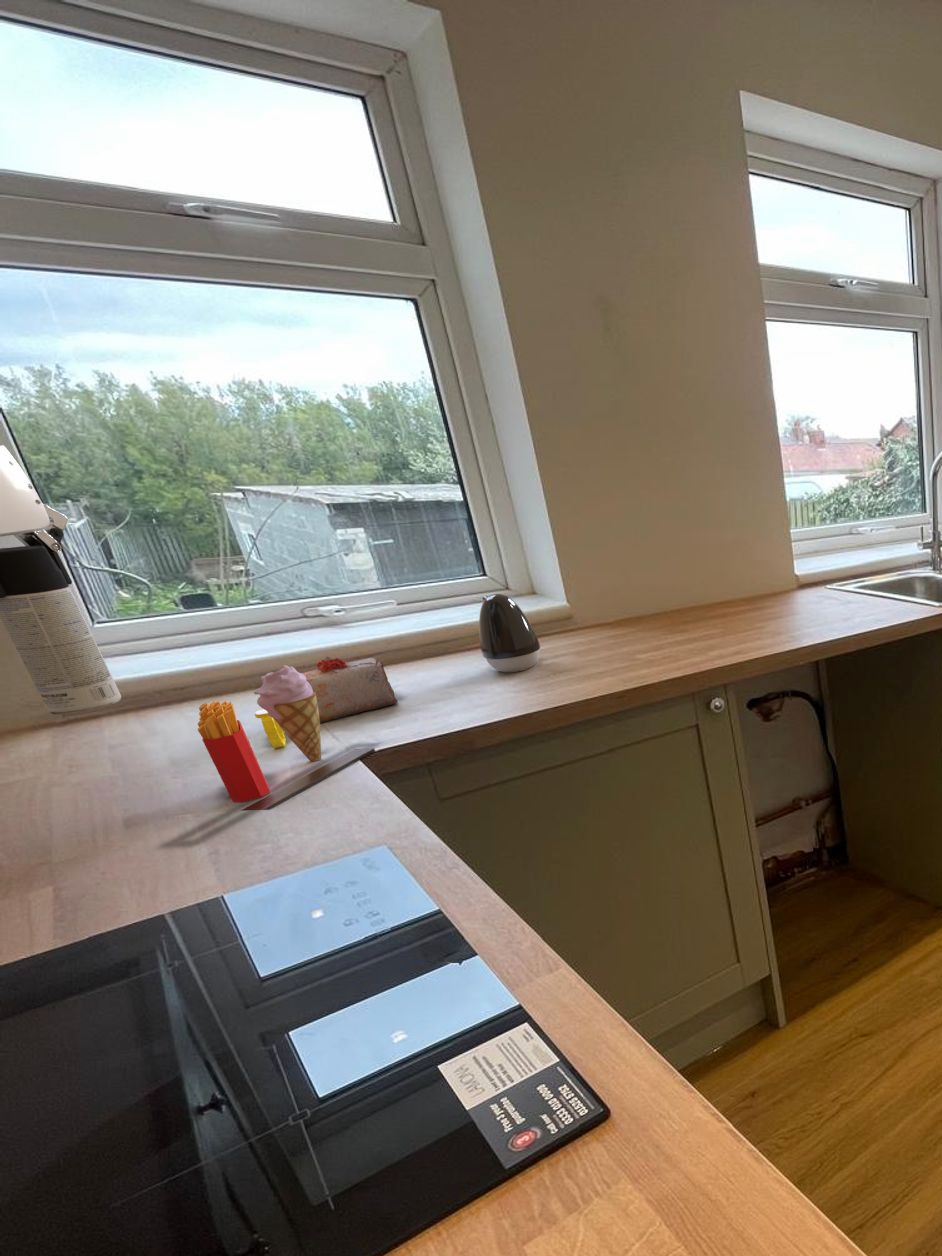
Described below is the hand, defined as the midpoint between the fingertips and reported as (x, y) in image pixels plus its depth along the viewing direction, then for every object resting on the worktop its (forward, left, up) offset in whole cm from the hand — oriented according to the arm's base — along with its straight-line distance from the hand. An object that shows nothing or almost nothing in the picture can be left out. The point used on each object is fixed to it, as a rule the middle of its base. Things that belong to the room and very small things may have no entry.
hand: (25, 590), depth 99 cm
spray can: (0, 0, -15) cm, 15 cm away
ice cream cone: (+13, +14, -30) cm, 35 cm away
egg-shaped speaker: (+19, +59, -30) cm, 69 cm away
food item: (+2, +36, -30) cm, 47 cm away
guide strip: (+19, +2, -30) cm, 35 cm away
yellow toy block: (+2, +21, -30) cm, 37 cm away
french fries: (+13, +3, -30) cm, 33 cm away
